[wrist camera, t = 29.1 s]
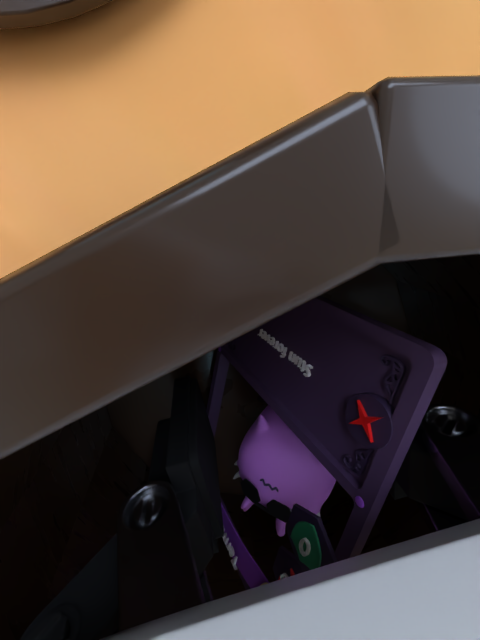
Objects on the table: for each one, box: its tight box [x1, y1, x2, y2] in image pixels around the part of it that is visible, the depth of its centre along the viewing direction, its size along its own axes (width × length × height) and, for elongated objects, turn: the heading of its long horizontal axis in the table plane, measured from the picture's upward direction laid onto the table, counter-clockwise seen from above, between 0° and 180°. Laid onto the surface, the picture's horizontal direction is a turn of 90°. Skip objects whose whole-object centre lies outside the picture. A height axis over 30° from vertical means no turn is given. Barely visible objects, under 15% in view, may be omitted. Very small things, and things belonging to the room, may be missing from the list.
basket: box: [0, 75, 480, 640], centre depth 8 cm, size 14×14×10 cm
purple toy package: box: [206, 296, 447, 590], centre depth 9 cm, size 7×5×9 cm
